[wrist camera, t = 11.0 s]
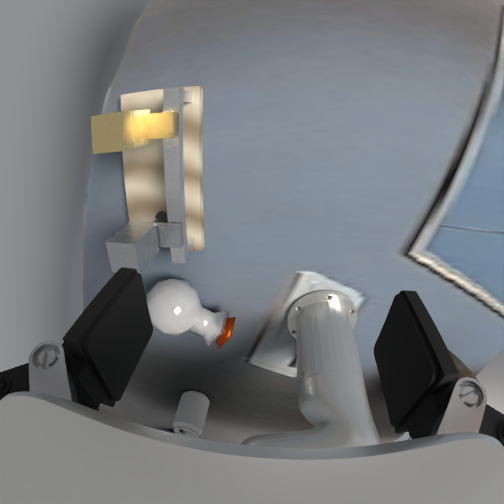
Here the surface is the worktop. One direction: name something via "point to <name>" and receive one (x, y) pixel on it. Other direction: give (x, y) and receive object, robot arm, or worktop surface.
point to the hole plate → (152, 165)
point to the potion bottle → (186, 312)
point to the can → (191, 414)
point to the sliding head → (130, 129)
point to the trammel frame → (174, 232)
